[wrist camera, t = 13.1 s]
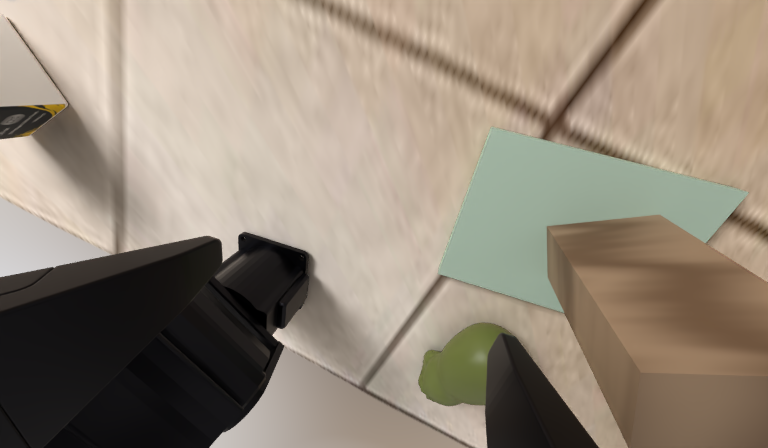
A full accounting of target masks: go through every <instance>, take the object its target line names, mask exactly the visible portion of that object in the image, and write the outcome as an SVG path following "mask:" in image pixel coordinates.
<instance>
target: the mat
mask: <svg viewBox="0 0 768 448" xmlns="http://www.w3.org/2000/svg"><path fill="white" fill-rule="evenodd" d="M747 195H748V192H746V191H743V190H740V189H737V188H734V187H730V186H726V185H722V184H718V183H714V182H710V181H706V180H702V179H698V178H694V177H690V176H686V175H682V174H678V173H674V172H670V171H666V170H662V169H658V168H654V167H650V166H646V165H642V164H638V163H634V162H630V161H627V160H623V159H619V158H615V157H611V156H607V155H603V154H599V153H595V152H591V151H587V150H583V149H579V148H575V147H571V146H567V145H563V144H559V143H555V142H551V141H547V140H543V139H539V138H535V137H531V136H527V135H523V134H519V133H515V132H511V131H507V130H503V129H499V128H495V127H491V128H490V131H489V134H488V136H487V139H486V142H485V144H484V147H483V150H482V153H481V155H480V158H479V161H478V163H477V166H476V169H475V171H474V174H473V177H472V180H471V182H470V185H469V188H468V190H467V193H466V196H465V198H464V201H463V204H462V207H461V209H460V212H459V215H458V217H457V220H456V223H455V225H454V228H453V231H452V234H451V236H450V239H449V242H448V244H447V247H446V250H445V252H444V255H443V258H442V261H441V263H440V266H439V270H438V274H441V275H444V276H447V277H450V278H453V279H457V280H460V281H463V282H466V283H469V284H473V285H476V286H479V287H482V288H485V289H489V290H492V291H495V292H498V293H501V294H505V295H508V296H511V297H514V298H518V299H521V300H524V301H527V302H530V303H534V304H537V305H540V306H543V307H546V308H550V309H553V310H556V311H559V312H562V313H564V311H563V309H562V307H561V305H560V302H559V300H558V298H557V296H556V294H555V292H554V290H553V288H552V286H551V283H550V281H549V279H548V272H547V226H553V225H563V224H572V223H582V222H592V221H602V220H611V219H621V218H631V217H641V216H650V215H661V216H663V217H664V218H666V219H668V220H669V221H671V222H672V223H674V224H676V225H677V226H679V227H680V228H682V229H683V230H685V231H687V232H688V233H690V234H691V235H693V236H695V237H696V238H698V239H699V240H701V241H703V242H704V243H706V242H707V241H708V240H709V239H710V238H711V236H712V235H713V234H714V233H715V232H716V231H717V229H718V228H719V227H720V226H721V225H722V224H723V222H724V221H725V220H726V219H727V218H728V217H729V215H730V214H731V213H732V212H733V211H734V210H735V208H736V207H737V206H738V205H739V204H740V203H741V202H742V200H743V199H744V198H745V197H746V196H747Z"/></svg>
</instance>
